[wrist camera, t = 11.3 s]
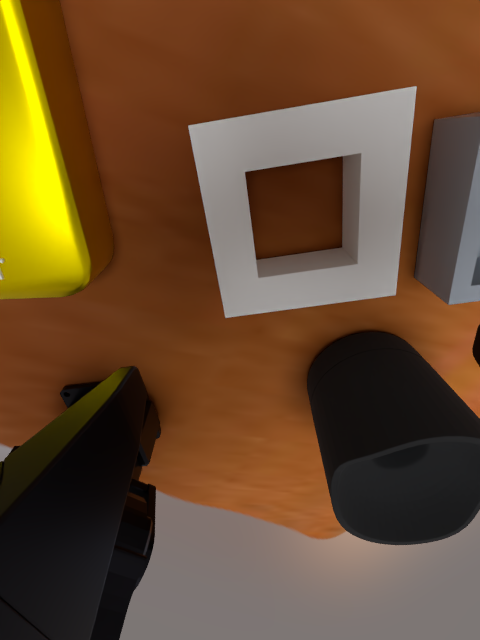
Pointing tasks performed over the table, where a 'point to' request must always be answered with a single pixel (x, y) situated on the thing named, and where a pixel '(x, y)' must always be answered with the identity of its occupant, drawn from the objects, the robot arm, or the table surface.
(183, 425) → the table surface
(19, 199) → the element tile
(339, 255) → the square frame
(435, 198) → the square tray
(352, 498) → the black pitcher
